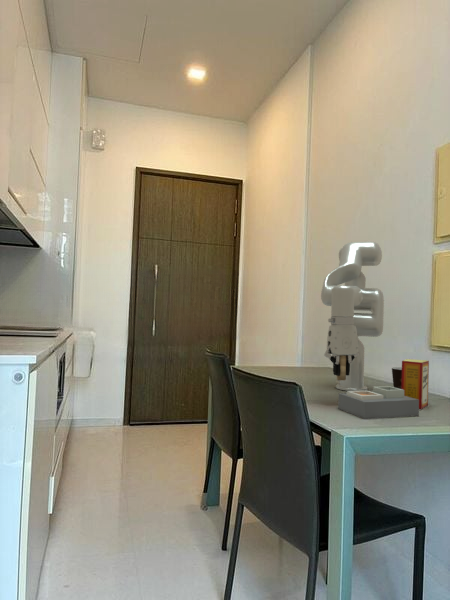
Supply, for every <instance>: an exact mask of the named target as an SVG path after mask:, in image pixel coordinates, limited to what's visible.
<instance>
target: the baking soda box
mask: <svg viewBox="0 0 450 600" xmlns="http://www.w3.org/2000/svg"><path fill="white" fill-rule="evenodd" d="M401 367H402V383H401V389H403V390H404V396H407V397H411V398H414V399H418V400H419V410H422V409H424V408H425V407H428V406H429V376H430V375H429V368H430V361H429V360H427V359H426V360H425V359H413V358H409V359H408V358H405V359H404V360H402V361H401Z"/></svg>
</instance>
